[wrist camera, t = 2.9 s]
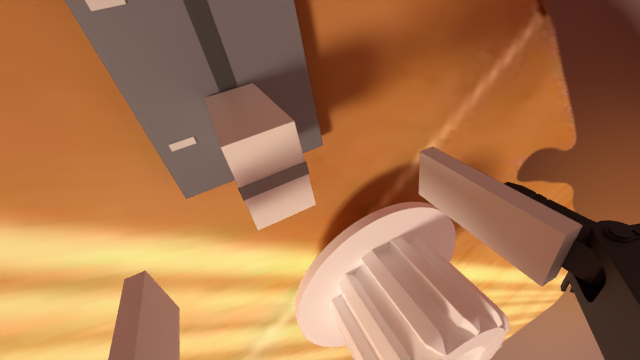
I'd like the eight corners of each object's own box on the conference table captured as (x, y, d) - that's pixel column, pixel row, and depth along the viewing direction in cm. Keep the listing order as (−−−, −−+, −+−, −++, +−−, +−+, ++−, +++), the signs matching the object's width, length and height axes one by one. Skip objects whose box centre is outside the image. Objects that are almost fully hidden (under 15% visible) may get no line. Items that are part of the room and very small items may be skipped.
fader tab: (231, 162, 25) (258, 232, 17) (203, 98, 22) (220, 148, 14) (273, 146, 26) (317, 205, 18) (253, 82, 22) (296, 121, 15)
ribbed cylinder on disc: (324, 327, 50) (387, 459, 35) (244, 258, 34) (298, 445, 20) (433, 245, 52) (535, 337, 37) (404, 145, 36) (562, 237, 22)
